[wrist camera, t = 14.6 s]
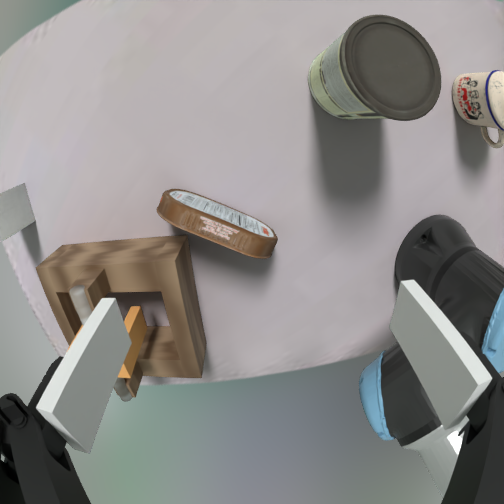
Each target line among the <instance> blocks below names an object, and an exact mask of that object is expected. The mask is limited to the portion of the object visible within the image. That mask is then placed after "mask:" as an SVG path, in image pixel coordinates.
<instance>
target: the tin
mask: <svg viewBox="0 0 504 504" xmlns="http://www.w3.org/2000/svg"><path fill="white" fill-rule="evenodd" d="M157 213H158V214H159V216H160V217H161V218H163V219H164V220H165V221H167V222H168V223H170V224H172V225H174V226H175V227H177V228H180V229H182V230H185V231H187V232H189V233H192V234H195V235H197V236H199V237H202V238H204V239H207V240H209V241H212V242H214V243H217V244H219V245H222V246H224V247H226V248H229V249H232V250H234V251H236V252H239V253H241V254H244V255H247V256H250V257H254V258H260V259H266V258H269V257H271V255H272V251H273V249H274V247H275V245H276V243H277V241H278V238H277V236H276V234H275V233H274V231H273V230H272V229H271V228H270V227H269V226H267V225H266V224H264V223H263V222H261V221H259V220H257V219H255V218H253V217H251V216H249V215H247V214H244V213H242V212H240V211H237V210H235V209H233V208H230V207H228V206H226V205H223V204H221V203H219V202H216V201H214V200H211V199H209V198H206V197H204V196H201V195H198V194H195V193H192V192H189V191H185V190H181V189H170V190H167V191H165V192H164V193H163V195H162V198H161V201H160V204H159V206H158V207H157Z"/></svg>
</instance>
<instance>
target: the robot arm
mask: <svg viewBox="0 0 504 504" xmlns="http://www.w3.org/2000/svg"><path fill="white" fill-rule="evenodd" d="M395 270H396V278H397V281H398V283H399V285H400V286H399V291H398V295H397V299H396V304H395V308H394V311H393V315H392V319H391V323H390V326H389V328H390V329H391V331H392V333H393V334H394V336H395V338H396V339H397V341H398V342H397V343H396V344H394V345H393V346H392V347H391V348H389V349H388V350H387V351H383V352H382V353H381V354H380V356H379V357H378V358H376V359H375V360H374V361H373V362H372V363H370V364H369V365H368V366H367V367H366V368H365V369H364V370H363V371H362V373H361V376H360V381H359V391H360V398H361V402H362V405H363V409H364V412H365V414H366V417H367V419H368V421H369V423H370V425H371V427H372V428H373V430H374V431H375V432H377V434H378V436H379V437H380V438H381V439H383V440H393V439H395V438H397V440H398V442H399V443H400V445H401V447H402V448H405V449H412V450H416V451H418V453H419V455H420V457H421V459H422V460H423V462H424V464H425V466H426V468H427V470H428V472H429V473H430V475H431V477H432V479H433V481H434V483H435V485H436V487H437V488H438V490H439V492H440V494H441V496H442V498H443V500H442V503H441V504H504V377H503V378H502V377H501V376H500V375H499V373H501V372H503V371H504V267H502V266H501V265H500V264H498V263H497V262H496V261H494V260H493V259H492V258H490V257H489V256H488V255H486V254H485V253H483V252H482V251H481V250H479V249H478V248H477V247H476V246H475V244H474V242H473V241H472V239H471V238H470V236H469V235H468V233H467V232H466V230H465V229H464V227H463V226H462V225H461V224H460V223H458V222H457V221H455V220H454V219H452V218H450V217H448V216H445V215H434V216H430V217H428V218H426V219H424V220H422V221H421V222H419V223H418V224H417V225H416V226H415V227H414V228H413V229H412V230H411V231H410V232H409V233H408V235H407V236H406V237H405V239H404V241H403V243H402V244H401V247H400V249H399V252H398V255H397V259H396V267H395ZM131 344H132V342H131V339H130V337H129V334H128V332H127V329H126V326H125V324H124V321H123V318H122V315H121V312H120V310H119V307H118V304H117V301H116V298H102V299H101V300H100V302H99V303H98V305H97V306H96V308H95V309H94V311H93V312H92V314H91V315H90V317H89V318H88V320H87V321H86V323H85V324H84V326H83V327H82V329H81V330H80V332H79V333H78V335H77V337H76V338H75V340H74V341H73V343H72V345H71V346H70V348H69V350H68V351H67V353H66V354H65V356H64V357H59V358H58V359H57V360H55V361H54V362H53V363H52V364H51V366H50V367H49V369H48V371H47V372H46V375H45V376H44V377H43V380H42V382H41V383H40V384H39V386H38V388H37V390H36V392H35V394H34V395H33V397H32V399H31V401H30V403H29V405H28V406H26V405H25V404H24V403H23V401H22V400H21V399H20V398H19V397H18V396H17V395H16V394H13V393H10V394H6V395H4V396H2V397H1V398H0V504H91V503H90V501H89V499H88V497H87V495H86V492H85V490H84V488H83V486H82V484H81V482H80V480H79V477H78V476H77V473H76V471H75V468H74V466H73V463H72V461H71V458H70V456H69V453H68V451H67V450H66V448H65V445H66V442H67V443H68V444H69V445H70V446H71V447H72V448H74V449H75V450H79V451H82V452H85V453H89V454H90V452H91V449H92V446H93V443H94V440H95V436H96V434H97V430H98V428H99V425H100V422H101V420H102V417H103V414H104V411H105V409H106V406H107V403H108V401H109V398H110V395H111V393H112V390H113V387H114V385H115V382H116V380H117V377H118V375H119V372H120V370H121V367H122V365H123V363H124V360H125V358H126V355H127V353H128V351H129V348H130V346H131ZM1 454H2V455H3V456H4V457H5V460H4V462H3V461H2V460H1Z"/></svg>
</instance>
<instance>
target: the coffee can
mask: <svg viewBox="0 0 504 504" xmlns="http://www.w3.org/2000/svg"><path fill="white" fill-rule="evenodd" d="M308 83H309V88H310V91H311V93H312V95H313V97H314V99H315V100H316V102H317V103H318V104H319V105H320V107H321V108H323V109H324V110H325V111H326V112H328V113H329V114H331V115H333V116H335V117H338V118H341V119H346V120H348V119H349V120H352V119H368V118H375V119H393V120H400V121H410V120H415V119H418V118H421V117H423V116H425V115H426V114H427V113H428V112H429V111H430V110H431V109H432V108H433V107H434V105H435V104H436V102H437V100H438V98H439V94H440V90H441V73H440V68H439V64H438V61H437V58H436V56H435V54H434V52H433V50H432V48H431V47H430V45H429V44H428V42H427V41H426V40H425V38H424V37H423V36H422V35H421V34H420V33H419V32H418V31H417V30H415V29H414V28H413V27H412V26H410V25H409V24H407V23H405V22H404V21H401V20H399V19H397V18H394V17H391V16H387V15H370V16H366V17H363V18H361V19H359V20H357V21H356V22H355V23H353V24H352V25H351V26H350V27H349V28H348V30H347V31H346V32H345V33H344V34H342V35H341V36H340V37H339V38H338V39H337V40H336V41H334V42H333V43H332V44H331V45H330V46H329V47H328V48H327V49H326V50H325V51H323V52H322V53H321V54H319V55H318V56H317V57H316V58H315V59H314V61H313V62H312V64H311V66H310V69H309V74H308Z"/></svg>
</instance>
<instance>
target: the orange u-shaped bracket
mask: <svg viewBox="0 0 504 504" xmlns="http://www.w3.org/2000/svg"><path fill="white" fill-rule="evenodd" d="M124 324H125V326H126V329H127V332H128V334H129V337H130V339H131V342H132V344H131V346H130V348H129V351H128V353H127V355H126V358H125V360H124V363H123V365H122V367H121V370H120V372H119V375H118V377H120V378H131V376H132V372H133V369H134V366H135V363H136V360H137V357H138V354H139V351H140V348H141V345H142V342H143V339H144V337H145V334H146V331H147V325H146V322H145V319H144V316H143V313H142V309H141V306H131V308H130V310H129V312H128V314H127V316H126V318H125V320H124ZM82 327H83V324H82V326H81V328H80V329H79V331H78V333H79V332H80V330H81V329H82ZM78 333H77V334H76V336H75V338H76V337H77V335H78ZM75 338H74V339H73V341H74V340H75ZM73 341H72V343H73ZM72 343H71V345H72ZM71 345H70V346H71ZM70 346H69V348H70ZM69 348H68V350H69ZM68 350H67V351H68Z"/></svg>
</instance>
